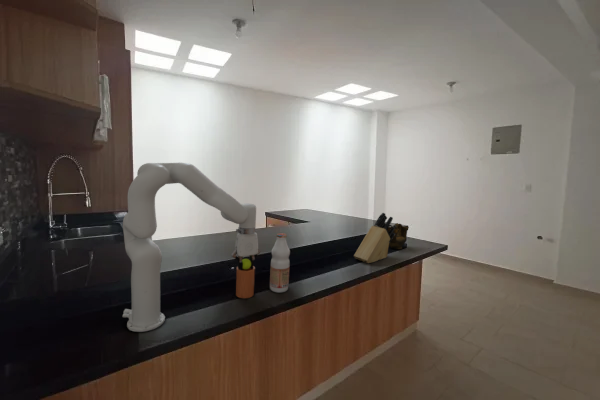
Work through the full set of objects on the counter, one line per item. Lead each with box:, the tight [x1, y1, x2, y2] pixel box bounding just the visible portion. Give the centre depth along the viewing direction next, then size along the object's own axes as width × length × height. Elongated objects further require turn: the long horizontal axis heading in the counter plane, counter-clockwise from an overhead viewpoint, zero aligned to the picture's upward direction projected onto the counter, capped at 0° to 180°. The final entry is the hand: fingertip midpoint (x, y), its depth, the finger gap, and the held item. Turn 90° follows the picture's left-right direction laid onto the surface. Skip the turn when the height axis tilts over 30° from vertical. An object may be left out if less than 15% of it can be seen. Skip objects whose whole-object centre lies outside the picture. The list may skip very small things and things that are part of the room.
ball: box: [242, 258, 251, 270], centre depth 136 cm, size 5×5×5 cm
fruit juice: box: [269, 232, 291, 293], centre depth 144 cm, size 9×9×28 cm
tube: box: [235, 265, 256, 299], centre depth 137 cm, size 8×8×13 cm
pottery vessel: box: [387, 222, 409, 250], centre depth 232 cm, size 25×11×20 cm, turn 132°
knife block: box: [353, 212, 396, 264], centre depth 202 cm, size 11×35×31 cm, turn 133°
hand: (245, 268), depth 136 cm, fingers closed on ball, 4 cm apart
